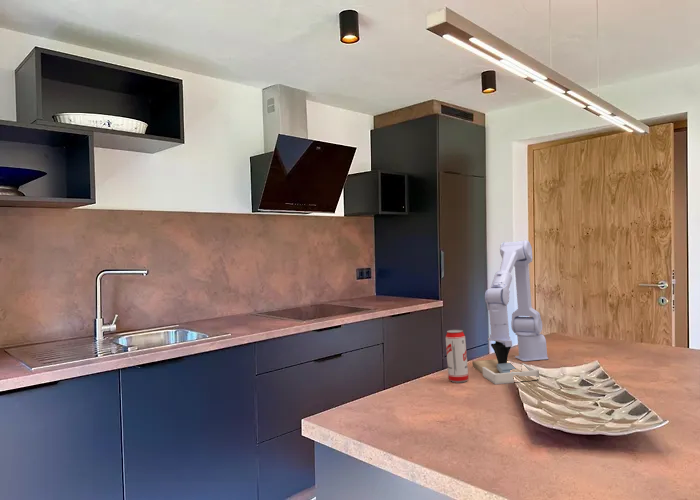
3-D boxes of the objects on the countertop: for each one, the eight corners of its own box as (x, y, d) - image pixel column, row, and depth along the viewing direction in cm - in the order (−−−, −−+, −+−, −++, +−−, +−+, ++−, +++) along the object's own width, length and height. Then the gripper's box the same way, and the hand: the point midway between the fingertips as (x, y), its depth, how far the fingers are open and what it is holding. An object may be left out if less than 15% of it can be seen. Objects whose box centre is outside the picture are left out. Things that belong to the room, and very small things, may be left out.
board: (505, 364, 175) (505, 358, 175) (521, 372, 161) (521, 366, 161) (472, 367, 174) (472, 361, 174) (486, 376, 160) (485, 369, 160)
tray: (524, 372, 161) (523, 363, 161) (539, 380, 150) (538, 370, 150) (483, 376, 160) (482, 367, 160) (495, 384, 149) (494, 374, 149)
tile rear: (510, 367, 161) (510, 362, 160) (515, 373, 156) (515, 368, 156) (496, 368, 160) (496, 363, 160) (501, 374, 156) (501, 369, 156)
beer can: (467, 378, 159) (463, 328, 160) (470, 382, 153) (466, 331, 154) (447, 379, 160) (444, 330, 160) (449, 383, 154) (445, 333, 154)
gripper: (480, 322, 168) (483, 361, 168) (495, 327, 154) (498, 371, 154) (500, 320, 169) (503, 360, 169) (517, 325, 154) (520, 369, 154)
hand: (502, 365), depth 161 cm, fingers closed
